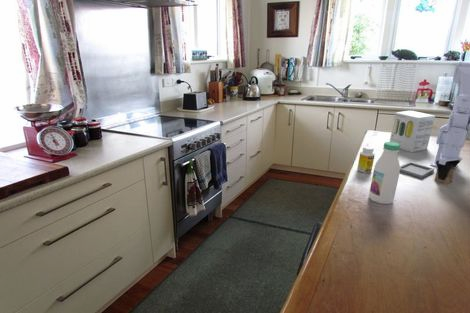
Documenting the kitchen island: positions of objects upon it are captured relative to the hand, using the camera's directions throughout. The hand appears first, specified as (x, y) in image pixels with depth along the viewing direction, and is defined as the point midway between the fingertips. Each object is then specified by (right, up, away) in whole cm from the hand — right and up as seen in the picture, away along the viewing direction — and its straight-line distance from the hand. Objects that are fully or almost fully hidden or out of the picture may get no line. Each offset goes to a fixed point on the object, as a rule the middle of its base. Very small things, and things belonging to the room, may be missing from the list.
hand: (443, 177), depth 123 cm
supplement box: (+8, +13, +41) cm, 43 cm away
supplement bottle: (-28, +2, +8) cm, 29 cm away
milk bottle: (-32, -6, -15) cm, 36 cm away
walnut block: (0, -1, +1) cm, 1 cm away
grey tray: (-6, +2, +9) cm, 11 cm away
